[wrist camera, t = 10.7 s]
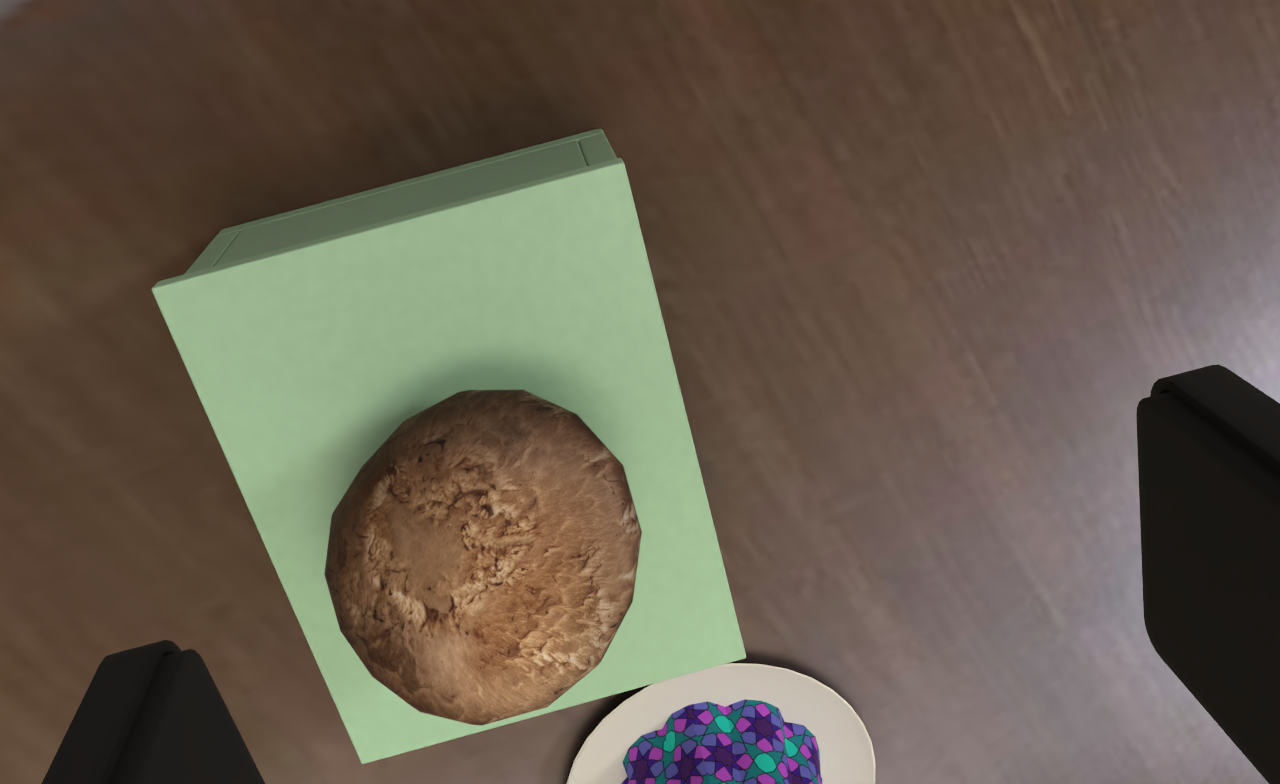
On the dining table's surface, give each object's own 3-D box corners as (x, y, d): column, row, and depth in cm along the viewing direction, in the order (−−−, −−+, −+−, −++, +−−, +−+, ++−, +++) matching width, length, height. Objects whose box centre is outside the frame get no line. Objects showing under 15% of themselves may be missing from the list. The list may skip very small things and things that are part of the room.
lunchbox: (219, 229, 33) (163, 296, 27) (601, 126, 33) (625, 172, 28) (381, 626, 39) (363, 749, 33) (705, 537, 39) (742, 645, 34)
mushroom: (703, 682, 29) (610, 744, 23) (434, 695, 32) (291, 753, 26) (667, 374, 30) (569, 359, 24) (407, 413, 33) (262, 408, 27)
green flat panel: (156, 281, 27) (150, 289, 27) (621, 156, 27) (624, 161, 27) (363, 751, 33) (361, 765, 33) (742, 646, 34) (746, 658, 33)
